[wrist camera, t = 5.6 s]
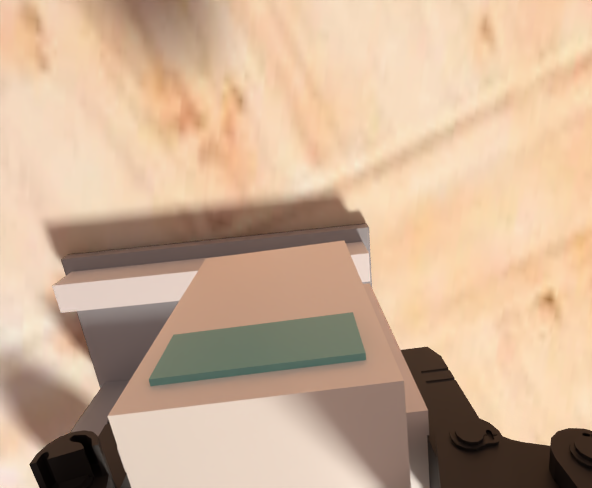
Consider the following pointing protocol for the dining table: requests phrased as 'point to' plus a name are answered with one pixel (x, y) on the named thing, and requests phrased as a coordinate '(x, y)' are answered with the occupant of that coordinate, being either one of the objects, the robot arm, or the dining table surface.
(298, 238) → the rail base
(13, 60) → the dining table surface
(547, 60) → the dining table surface
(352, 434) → the block
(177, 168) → the dining table surface
